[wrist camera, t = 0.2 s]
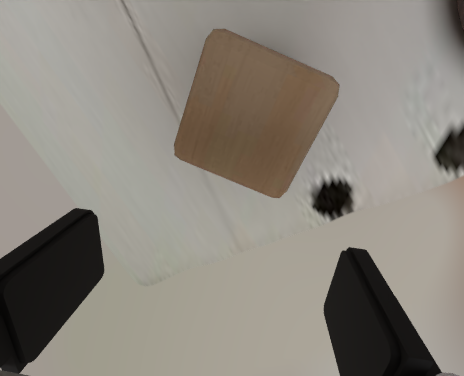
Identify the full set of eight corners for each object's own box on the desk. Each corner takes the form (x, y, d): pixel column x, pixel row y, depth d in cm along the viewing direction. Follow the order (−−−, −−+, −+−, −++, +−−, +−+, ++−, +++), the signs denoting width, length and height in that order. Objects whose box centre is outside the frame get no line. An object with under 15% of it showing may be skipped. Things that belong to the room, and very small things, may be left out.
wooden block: (212, 121, 39) (166, 159, 20) (237, 51, 35) (208, 19, 16) (273, 147, 39) (282, 206, 21) (304, 81, 35) (350, 82, 17)
